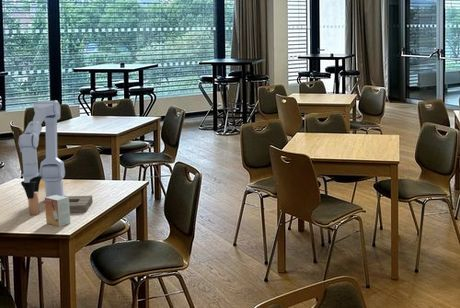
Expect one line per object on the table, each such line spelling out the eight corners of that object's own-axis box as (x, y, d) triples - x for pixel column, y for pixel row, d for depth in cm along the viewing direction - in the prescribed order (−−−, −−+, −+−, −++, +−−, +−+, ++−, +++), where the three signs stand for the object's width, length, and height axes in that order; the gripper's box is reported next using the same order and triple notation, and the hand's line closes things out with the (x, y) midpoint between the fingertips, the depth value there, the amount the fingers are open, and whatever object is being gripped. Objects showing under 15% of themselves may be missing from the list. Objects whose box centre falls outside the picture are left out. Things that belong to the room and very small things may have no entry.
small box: (46, 223, 250) (44, 197, 248) (58, 220, 255) (56, 194, 253) (59, 227, 245) (57, 200, 243) (71, 223, 250) (69, 197, 248)
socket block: (60, 203, 280) (59, 196, 280) (92, 202, 281) (92, 195, 280) (51, 213, 264) (51, 206, 264) (86, 212, 265) (85, 205, 264)
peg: (30, 212, 266) (29, 191, 264) (40, 212, 266) (38, 191, 265) (28, 215, 262) (26, 194, 261) (38, 215, 262) (36, 193, 261)
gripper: (25, 160, 267) (27, 192, 270) (15, 167, 253) (18, 200, 255) (42, 159, 268) (44, 191, 270) (33, 166, 253) (36, 200, 256)
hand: (32, 196), depth 263 cm, fingers open, 7 cm apart
